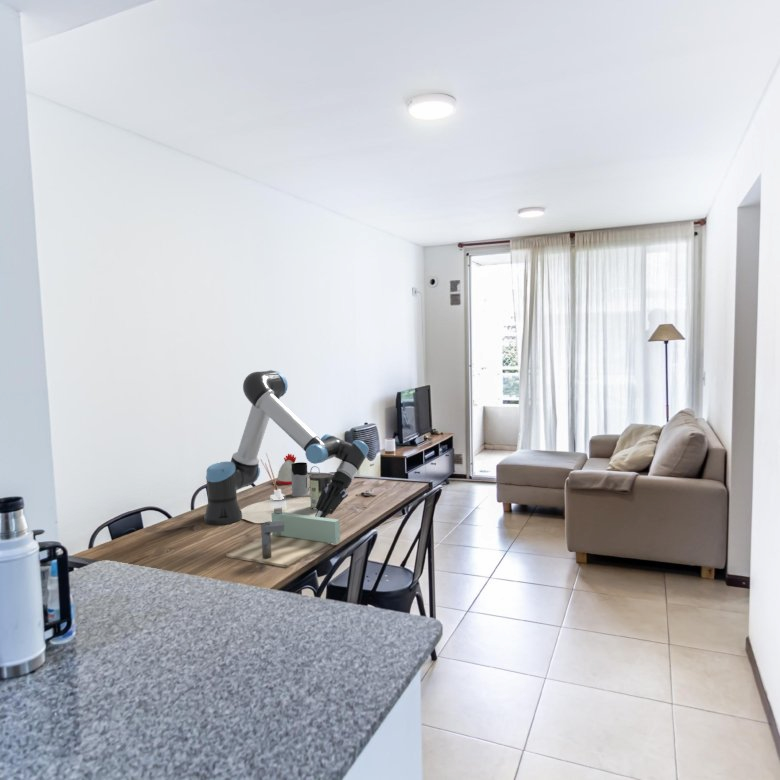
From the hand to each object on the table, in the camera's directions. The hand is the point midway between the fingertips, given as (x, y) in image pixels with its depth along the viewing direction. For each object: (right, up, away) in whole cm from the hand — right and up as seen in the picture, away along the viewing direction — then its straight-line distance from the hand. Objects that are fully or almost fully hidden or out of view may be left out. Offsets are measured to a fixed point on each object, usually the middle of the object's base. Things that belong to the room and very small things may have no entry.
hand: (313, 527), depth 216 cm
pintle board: (-9, -4, -13) cm, 16 cm away
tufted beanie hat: (-24, +2, +92) cm, 95 cm away
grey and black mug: (-12, +1, +64) cm, 65 cm away
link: (-2, -2, -5) cm, 6 cm away
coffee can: (-1, -1, +40) cm, 40 cm away
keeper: (-10, -5, -23) cm, 25 cm away
